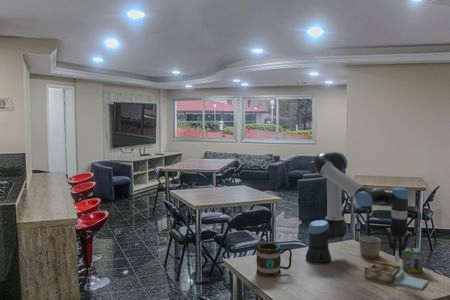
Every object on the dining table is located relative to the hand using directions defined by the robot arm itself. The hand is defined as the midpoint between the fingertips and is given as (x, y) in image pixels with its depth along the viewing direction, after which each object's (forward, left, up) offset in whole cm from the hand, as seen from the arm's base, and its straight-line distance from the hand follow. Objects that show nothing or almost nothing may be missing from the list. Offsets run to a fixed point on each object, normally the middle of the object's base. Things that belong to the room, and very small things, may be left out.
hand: (397, 261), depth 203 cm
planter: (-25, +30, -10) cm, 40 cm away
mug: (-56, -32, -10) cm, 65 cm away
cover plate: (+7, 0, -10) cm, 12 cm away
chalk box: (+2, +20, -10) cm, 22 cm away
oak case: (-8, 0, -10) cm, 12 cm away
